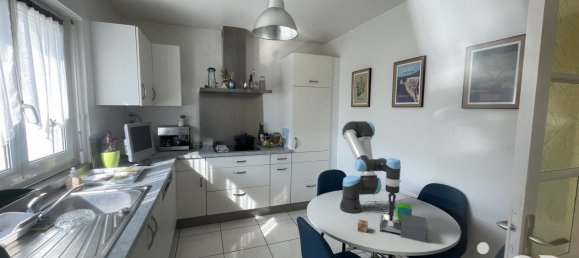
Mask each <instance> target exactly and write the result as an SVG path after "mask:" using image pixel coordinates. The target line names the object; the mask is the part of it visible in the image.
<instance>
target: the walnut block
mask: <svg viewBox="0 0 579 258" xmlns="http://www.w3.org/2000/svg"><path fill="white" fill-rule="evenodd" d="M368 222H369V221H368V220H364V219H359V220H358V221H357V232H360V233H364V234H367V233H368V226H369V225H368Z"/></svg>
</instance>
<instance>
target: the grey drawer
mask: <svg viewBox="0 0 579 258" xmlns="http://www.w3.org/2000/svg"><path fill="white" fill-rule="evenodd" d="M379 231H380V232H383V231H386V232H393V233H396V234H397V233H398V234H400V235H401V222H399V221H398V222H393V226H390V225H388V221H386V220H385V219H384V215H380V221H379Z"/></svg>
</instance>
